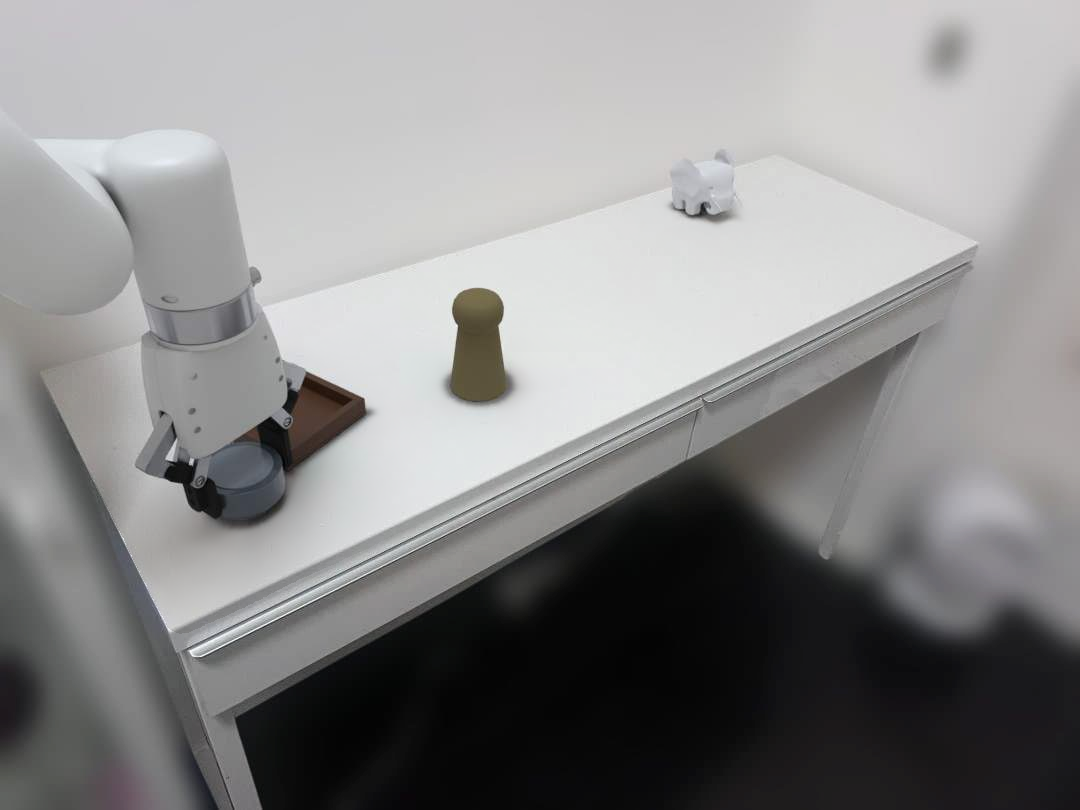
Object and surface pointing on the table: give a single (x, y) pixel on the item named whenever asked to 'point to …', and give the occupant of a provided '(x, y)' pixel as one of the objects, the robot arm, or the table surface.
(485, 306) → the pepper shaker
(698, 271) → the table surface
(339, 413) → the tray
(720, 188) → the elephant figurine
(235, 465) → the slate dish
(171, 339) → the robot arm
